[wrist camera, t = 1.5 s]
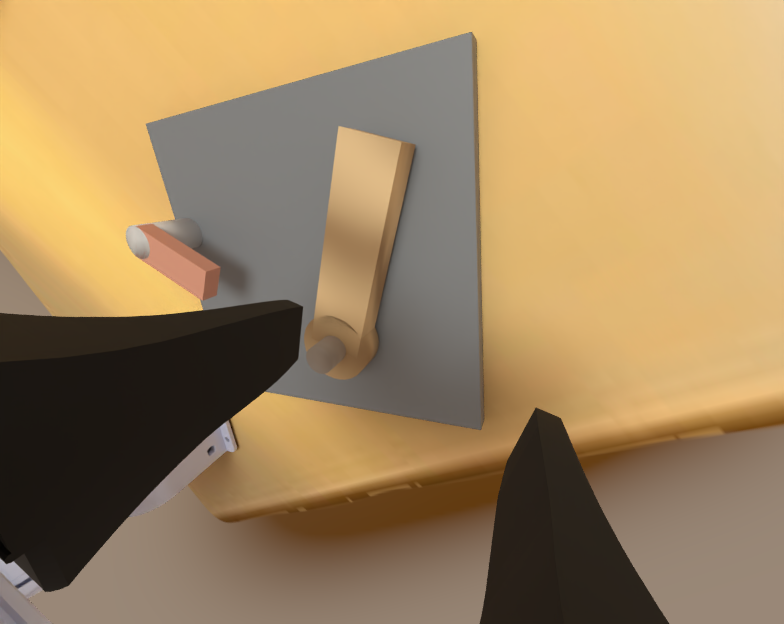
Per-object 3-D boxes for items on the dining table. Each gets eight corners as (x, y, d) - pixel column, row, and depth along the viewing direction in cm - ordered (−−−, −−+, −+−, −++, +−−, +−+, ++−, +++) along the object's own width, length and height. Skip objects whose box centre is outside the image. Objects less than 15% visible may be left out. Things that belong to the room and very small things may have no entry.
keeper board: (484, 419, 21) (468, 477, 17) (236, 378, 29) (186, 410, 25) (476, 39, 14) (447, -8, 11) (160, 125, 23) (79, 116, 19)
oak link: (371, 375, 21) (345, 405, 19) (317, 350, 22) (285, 374, 20) (425, 146, 15) (399, 142, 13) (348, 127, 17) (308, 119, 14)
